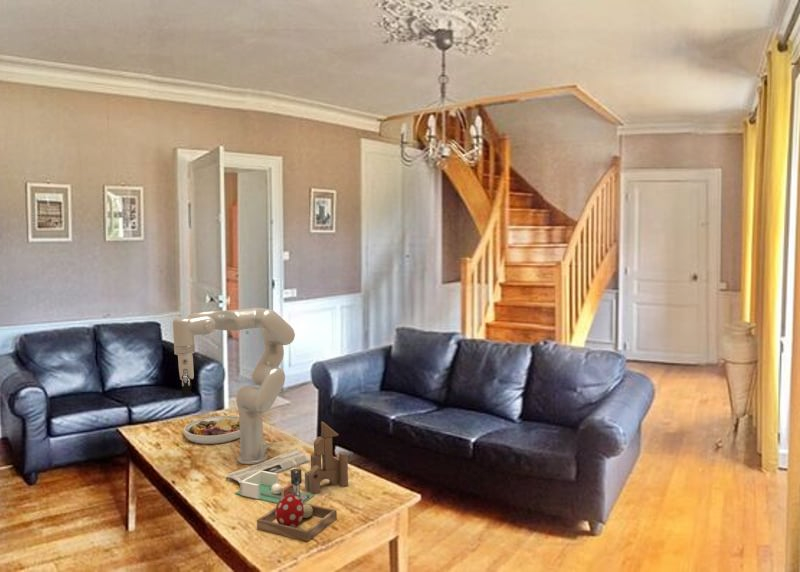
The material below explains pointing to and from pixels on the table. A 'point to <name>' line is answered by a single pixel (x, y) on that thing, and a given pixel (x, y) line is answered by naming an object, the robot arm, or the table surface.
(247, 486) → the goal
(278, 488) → the ball
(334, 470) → the wooden toy
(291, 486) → the knobbed pusher
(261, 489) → the green railed board
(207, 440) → the bowl
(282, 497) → the rail
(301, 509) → the decorative mushroom
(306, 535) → the display tray
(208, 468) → the table surface
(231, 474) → the newspaper
